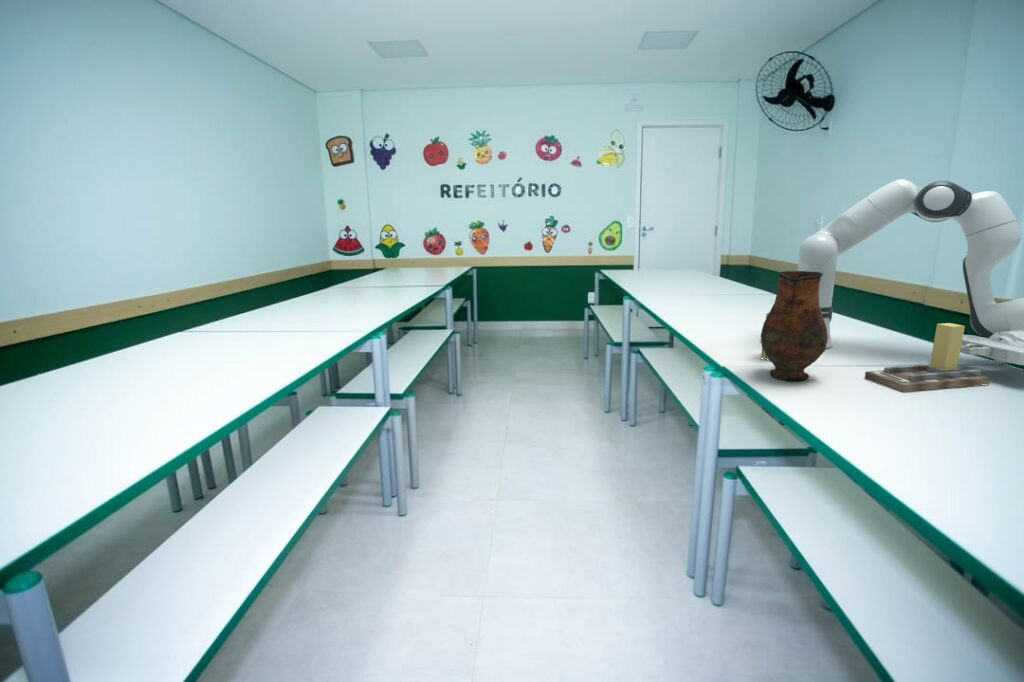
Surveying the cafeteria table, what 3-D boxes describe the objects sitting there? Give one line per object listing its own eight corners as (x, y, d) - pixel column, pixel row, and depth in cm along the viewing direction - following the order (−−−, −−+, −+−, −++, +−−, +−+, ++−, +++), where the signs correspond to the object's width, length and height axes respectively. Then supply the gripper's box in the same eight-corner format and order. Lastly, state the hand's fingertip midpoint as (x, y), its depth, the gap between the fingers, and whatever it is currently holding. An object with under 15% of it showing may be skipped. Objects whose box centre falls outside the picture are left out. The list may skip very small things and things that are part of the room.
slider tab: (941, 370, 138) (950, 322, 135) (957, 374, 134) (967, 326, 131) (926, 371, 138) (934, 323, 135) (942, 376, 133) (951, 327, 130)
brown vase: (750, 378, 142) (759, 274, 135) (768, 361, 158) (777, 267, 151) (816, 389, 132) (830, 276, 125) (829, 370, 148) (842, 269, 141)
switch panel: (944, 371, 143) (946, 360, 142) (988, 384, 132) (991, 372, 131) (864, 378, 140) (866, 366, 139) (903, 392, 128) (905, 379, 127)
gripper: (971, 328, 147) (930, 331, 145) (1054, 344, 127) (1009, 348, 125) (967, 349, 148) (927, 352, 146) (1049, 368, 128) (1003, 372, 126)
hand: (965, 350), depth 135 cm, fingers closed
